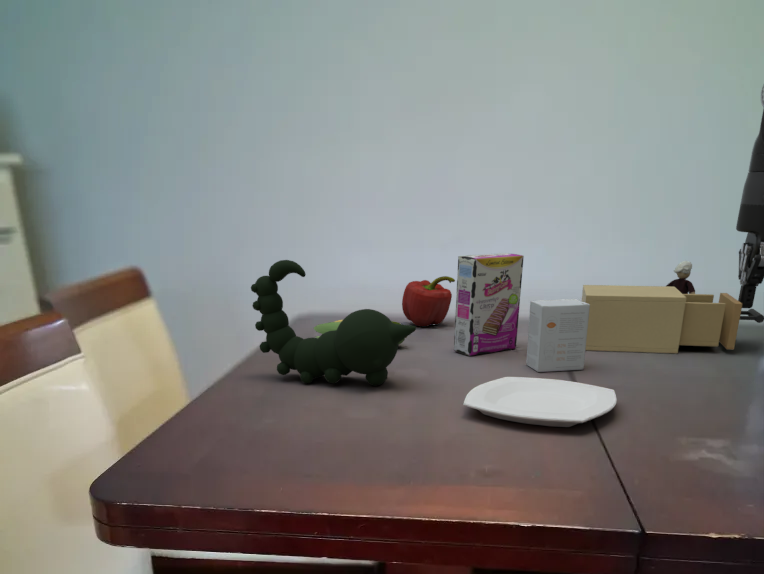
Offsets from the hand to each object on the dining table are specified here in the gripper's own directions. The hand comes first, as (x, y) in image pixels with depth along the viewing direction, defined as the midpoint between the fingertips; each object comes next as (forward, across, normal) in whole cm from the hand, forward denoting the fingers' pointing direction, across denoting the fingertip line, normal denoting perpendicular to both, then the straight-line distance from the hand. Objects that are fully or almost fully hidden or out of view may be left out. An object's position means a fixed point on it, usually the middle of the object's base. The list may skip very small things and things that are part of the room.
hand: (744, 307), depth 131 cm
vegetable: (+8, +13, +58) cm, 60 cm away
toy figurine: (+8, -36, +65) cm, 75 cm away
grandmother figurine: (+7, +22, +7) cm, 24 cm away
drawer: (+6, 0, +7) cm, 10 cm away
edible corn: (+8, -8, +68) cm, 69 cm away
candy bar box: (+8, -10, +44) cm, 46 cm away
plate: (+8, -46, +34) cm, 58 cm away
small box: (+8, -21, +32) cm, 39 cm away
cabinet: (+7, 0, +19) cm, 21 cm away
